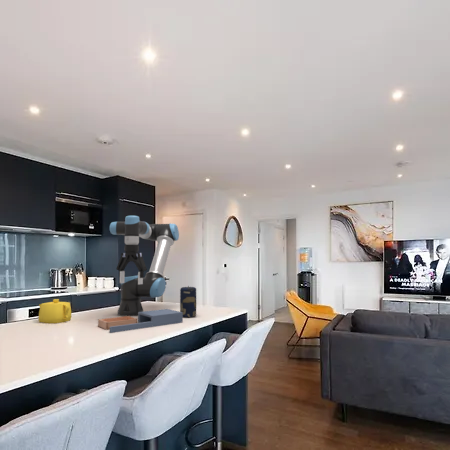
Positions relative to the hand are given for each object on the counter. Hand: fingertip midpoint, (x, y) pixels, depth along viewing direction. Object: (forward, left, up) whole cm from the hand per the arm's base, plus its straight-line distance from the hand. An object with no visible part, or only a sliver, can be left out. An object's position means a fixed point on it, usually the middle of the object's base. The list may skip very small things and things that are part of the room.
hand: (131, 283), depth 187 cm
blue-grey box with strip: (+9, +2, -21) cm, 23 cm away
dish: (+4, -9, -21) cm, 23 cm away
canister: (+4, +34, -21) cm, 40 cm away
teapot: (-32, -30, -21) cm, 48 cm away
